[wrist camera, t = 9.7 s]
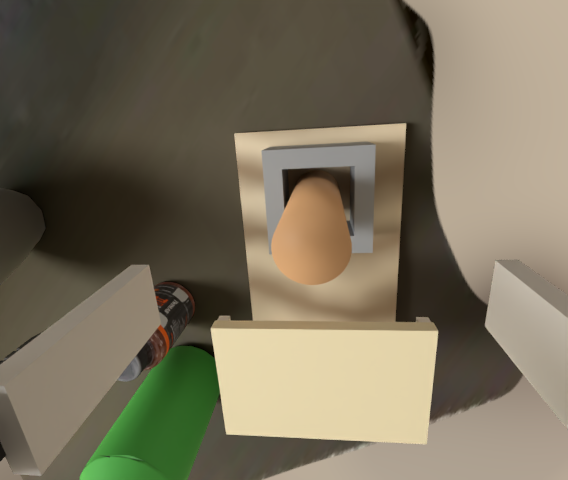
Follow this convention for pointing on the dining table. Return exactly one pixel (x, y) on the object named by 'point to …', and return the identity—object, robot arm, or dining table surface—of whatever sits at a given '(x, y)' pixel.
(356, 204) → the socket
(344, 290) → the board
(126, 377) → the supplement bottle
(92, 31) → the dining table surface
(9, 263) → the vase
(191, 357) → the bottle
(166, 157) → the dining table surface
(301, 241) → the peg
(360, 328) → the cream shelf stand
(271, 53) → the dining table surface
